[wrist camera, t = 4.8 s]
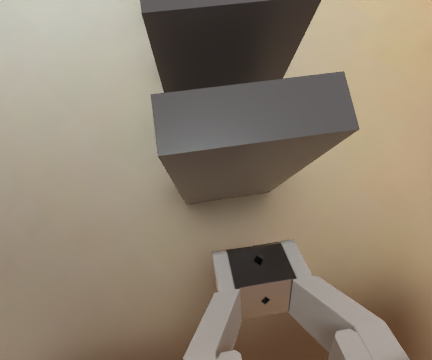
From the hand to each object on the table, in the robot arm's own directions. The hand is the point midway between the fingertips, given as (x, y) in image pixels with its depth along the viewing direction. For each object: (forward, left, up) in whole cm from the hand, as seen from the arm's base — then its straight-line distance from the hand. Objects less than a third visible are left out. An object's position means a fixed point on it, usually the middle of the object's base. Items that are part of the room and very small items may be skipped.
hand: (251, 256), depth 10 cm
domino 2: (-3, +3, -6) cm, 7 cm away
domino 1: (-5, +6, -6) cm, 10 cm away
